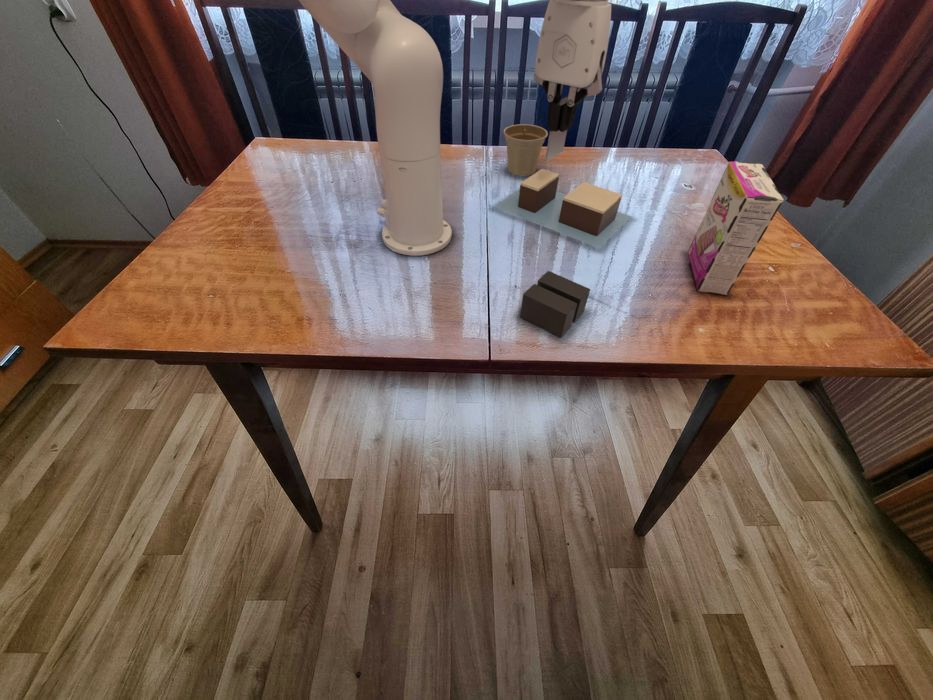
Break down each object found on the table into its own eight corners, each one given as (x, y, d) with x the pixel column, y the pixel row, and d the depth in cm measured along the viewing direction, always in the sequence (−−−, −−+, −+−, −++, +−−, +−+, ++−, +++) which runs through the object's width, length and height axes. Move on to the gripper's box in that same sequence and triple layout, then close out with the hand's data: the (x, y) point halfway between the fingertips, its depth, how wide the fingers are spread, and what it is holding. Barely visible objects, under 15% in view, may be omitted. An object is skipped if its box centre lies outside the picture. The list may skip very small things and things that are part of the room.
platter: (493, 209, 84) (493, 206, 83) (530, 184, 91) (530, 181, 91) (598, 250, 74) (599, 247, 74) (630, 219, 82) (631, 216, 81)
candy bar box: (684, 253, 74) (727, 159, 62) (714, 256, 73) (763, 162, 61) (694, 292, 67) (746, 194, 55) (728, 297, 66) (787, 199, 54)
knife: (549, 162, 74) (559, 106, 68) (541, 160, 75) (550, 104, 68) (565, 152, 78) (576, 98, 71) (558, 150, 78) (568, 96, 72)
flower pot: (494, 165, 98) (497, 126, 91) (531, 161, 100) (536, 121, 93) (509, 183, 92) (513, 142, 85) (548, 178, 94) (555, 137, 87)
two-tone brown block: (517, 207, 83) (520, 182, 80) (538, 192, 88) (542, 168, 84) (534, 213, 82) (538, 188, 78) (555, 198, 86) (559, 174, 82)
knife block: (519, 317, 62) (522, 293, 59) (543, 293, 66) (548, 270, 63) (561, 338, 59) (567, 314, 56) (583, 312, 63) (590, 289, 60)
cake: (558, 222, 80) (563, 197, 76) (578, 206, 84) (583, 181, 80) (596, 236, 76) (603, 211, 73) (615, 219, 81) (622, 194, 77)
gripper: (522, -15, 60) (509, 122, 74) (624, -2, 54) (590, 146, 68) (548, -19, 65) (531, 112, 78) (646, -7, 58) (609, 133, 72)
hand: (559, 127), depth 73 cm, fingers closed on knife, 1 cm apart
